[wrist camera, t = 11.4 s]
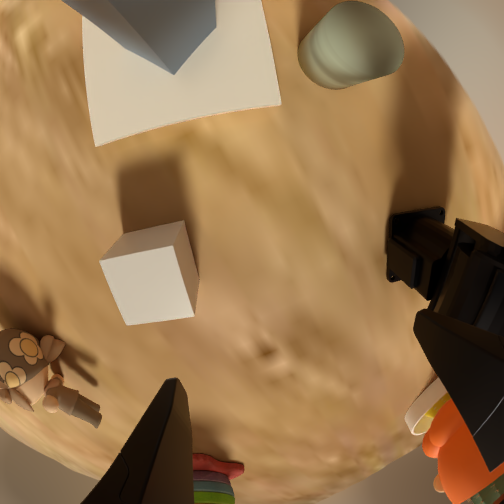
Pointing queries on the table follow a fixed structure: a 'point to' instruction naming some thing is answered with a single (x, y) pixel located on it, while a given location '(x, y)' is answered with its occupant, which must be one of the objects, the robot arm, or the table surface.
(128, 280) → the white cube
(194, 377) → the table surface
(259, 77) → the plate
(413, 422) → the potted cactus
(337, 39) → the sage cylinder
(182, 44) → the tall block
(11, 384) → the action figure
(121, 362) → the table surface
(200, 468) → the stacking bear
